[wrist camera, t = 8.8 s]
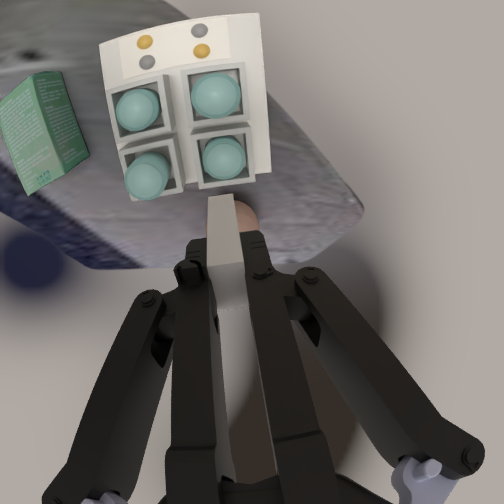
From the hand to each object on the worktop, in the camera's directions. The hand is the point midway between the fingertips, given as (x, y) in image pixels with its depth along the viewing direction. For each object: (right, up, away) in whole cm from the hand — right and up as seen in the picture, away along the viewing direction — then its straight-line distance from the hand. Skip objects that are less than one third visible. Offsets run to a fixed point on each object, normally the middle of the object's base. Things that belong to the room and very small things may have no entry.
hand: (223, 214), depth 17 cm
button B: (-9, +7, +10) cm, 15 cm away
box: (-24, +15, +9) cm, 30 cm away
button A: (-10, +13, +8) cm, 18 cm away
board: (-6, +15, +11) cm, 20 cm away
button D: (-1, +9, +12) cm, 15 cm away
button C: (-2, +13, +6) cm, 15 cm away
